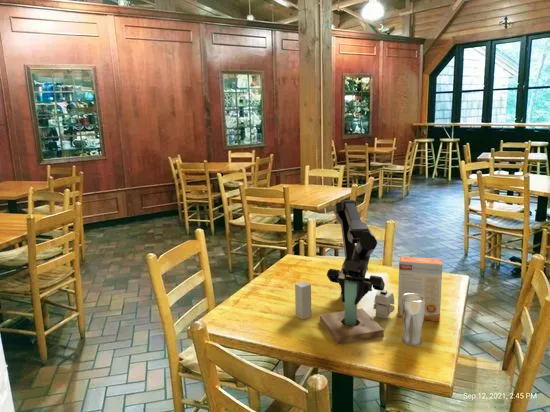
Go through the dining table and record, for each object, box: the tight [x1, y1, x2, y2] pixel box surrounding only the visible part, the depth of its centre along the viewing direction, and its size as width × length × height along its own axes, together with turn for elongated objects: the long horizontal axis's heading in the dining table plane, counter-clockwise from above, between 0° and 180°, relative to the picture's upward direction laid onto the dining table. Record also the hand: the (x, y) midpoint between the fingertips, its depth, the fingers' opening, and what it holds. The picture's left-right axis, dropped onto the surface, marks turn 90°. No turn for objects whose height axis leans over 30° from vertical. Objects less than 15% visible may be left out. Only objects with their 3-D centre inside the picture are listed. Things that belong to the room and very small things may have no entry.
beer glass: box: [401, 293, 425, 347], centre depth 136 cm, size 7×7×15 cm
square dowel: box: [294, 280, 312, 320], centre depth 155 cm, size 4×4×12 cm
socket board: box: [319, 308, 385, 346], centre depth 146 cm, size 16×16×2 cm
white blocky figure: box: [373, 289, 395, 319], centre depth 152 cm, size 6×7×10 cm
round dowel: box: [343, 281, 358, 327], centre depth 144 cm, size 4×4×14 cm
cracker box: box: [397, 255, 443, 322], centre depth 151 cm, size 14×6×21 cm, turn 70°
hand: (349, 303), depth 143 cm, fingers closed on round dowel, 4 cm apart
